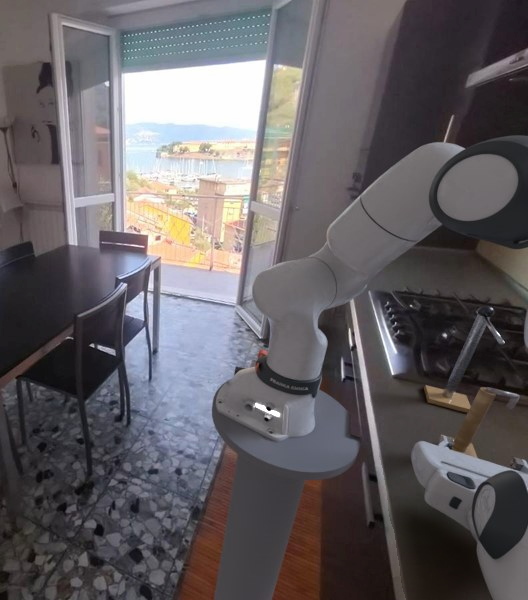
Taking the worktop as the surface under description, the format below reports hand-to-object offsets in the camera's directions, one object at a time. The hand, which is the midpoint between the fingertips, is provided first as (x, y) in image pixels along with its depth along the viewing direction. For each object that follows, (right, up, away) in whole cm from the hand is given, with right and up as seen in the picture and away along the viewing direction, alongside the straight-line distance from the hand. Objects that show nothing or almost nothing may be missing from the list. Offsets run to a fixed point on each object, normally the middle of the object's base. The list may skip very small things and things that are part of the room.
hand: (480, 449), depth 62 cm
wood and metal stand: (+14, 0, +21) cm, 26 cm away
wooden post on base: (+4, -6, +9) cm, 11 cm away
